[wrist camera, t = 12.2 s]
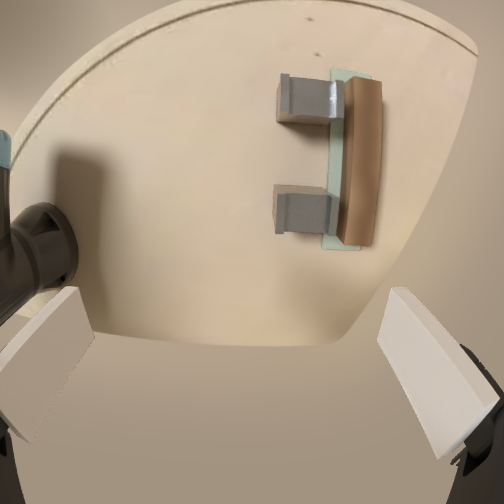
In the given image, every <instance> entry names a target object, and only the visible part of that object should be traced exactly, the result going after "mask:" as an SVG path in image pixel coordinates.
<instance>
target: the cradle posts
mask: <svg viewBox="0 0 504 504" xmlns="http://www.w3.org/2000/svg"><path fill="white" fill-rule="evenodd" d="M343 118H344V81H342V80H335V81H334V82H331V81H324V80H316V79H307V78H297V77H289V74H282V73H281V75H280V83H279V86H278V90H277V110H276V122H292V123H304V124H315V125H327V124H329V123H332V122H334V121H337V120H339V119H343ZM339 201H340V198H339V197H338V196H335V195H333V194H332V193H330V192H328V191H327V190H325V189H323V188H321V187H308V186H291V185H274V198H273V220H274V225H275V234H283V233H284V231H286V232H309V233H326V234H327V235H328V236H336V230H337V221H338V211H339Z"/></svg>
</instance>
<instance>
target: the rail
mask: <svg viewBox="0 0 504 504" xmlns="http://www.w3.org/2000/svg"><path fill="white" fill-rule="evenodd" d="M381 142H382V82H380V81H376V80H371V79H367V78H362V77H357V76H353V77H352V78H350V79H349V80H348V81H346V82H345V83H344V127H343V153H342V170H341V184H340V196H339V198H340V201H339V211H338V221H337V230H336V236H337V237H338V238H339V240H340V241H341V242H342V243H343V244H344V245H355V246H371V241H372V234H373V228H374V220H375V213H376V205H377V196H378V186H379V175H380V161H381Z"/></svg>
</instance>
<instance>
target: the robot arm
mask: <svg viewBox="0 0 504 504" xmlns="http://www.w3.org/2000/svg"><path fill="white" fill-rule="evenodd" d="M10 162H11V138H10V136H9V134H8V133H7V132H5V131H3V130H0V326H1V325H3V323H5V321H6V320H8V319H9V318H10V317H11V316H12V315H13V314H14V313H15V312H16V311H18V310H19V309H20V308H21V307H22V306H23V305H24V304H25V303H27V302H28V301H29V300H30V299H31V298H32V297H34V296H35V295H36V294H39V293H43V292H47V291H51V290H55V289H58V288H60V287H62V286H64V285H65V284H66V283H67V282H68V281H70V280H71V279H72V277H73V276H74V274H75V272H76V269H77V264H78V249H77V243H76V239H75V236H74V233H73V231H72V228H71V226H70V224H69V222H68V221H67V219H66V218H65V216H64V215H63V214H62V213H61V212H60V211H59V210H58V209H57V208H56V207H54V206H53V205H51V204H48V203H43V202H42V203H37V204H34V205H31V206H29V207H27V208H26V209H25V210H23V211H22V212H21V213H20V214H19V215H18V216H17V217H16V219H15V220H14V221H13V222H12V223H11V224H10V206H9V185H10V170H11V168H12V166H11V165H10ZM94 338H95V336H94V334H93V331H92V328H91V325H90V322H89V320H88V317H87V314H86V311H85V307H84V304H83V301H82V298H81V294H80V291H79V287H72V286H66V287H64V288H63V289H62V290H61V291H60V292H59V293H58V294H57V295H56V296H55V297H54V298H53V299H51V300H50V301H49V302H48V303H47V304H46V305H45V306H44V307H43V308H42V309H41V310H40V311H39V312H38V313H37V314H36V315H35V316H34V317H33V318H32V319H31V320H30V321H29V322H28V323H27V324H26V325H25V326H24V327H23V328H22V329H21V330H20V332H19V333H18V334H17V335H16V336H15V337H14V338H13V339H12V340H11V341H10V342H9V343H8V344H7V345H6V346H5V347H4V348H3V349H2V350H1V352H0V504H26V503H25V500H24V497H23V493H22V490H21V486H20V482H19V478H18V474H17V469H16V464H15V459H14V453H13V447H12V440H11V436H10V434H9V432H8V431H7V430H8V428H9V427H10V428H11V430H12V431H13V432H14V433H15V434H16V435H17V436H18V437H19V438H21V439H23V440H25V441H26V442H28V443H30V444H31V443H32V441H33V439H34V437H35V435H36V434H37V432H38V430H39V428H40V426H41V424H42V422H43V421H44V419H45V417H46V415H47V413H48V412H49V410H50V408H51V406H52V405H53V403H54V401H55V399H56V397H57V396H58V394H59V393H60V391H61V389H62V388H63V386H64V384H65V383H66V381H67V380H68V378H69V376H70V375H71V373H72V372H73V370H74V368H75V367H76V365H77V364H78V362H79V361H80V359H81V358H82V356H83V355H84V353H85V352H86V350H87V348H88V347H89V345H90V344H91V343H92V341H93V340H94ZM377 342H378V344H379V346H380V347H381V349H382V351H383V352H384V355H385V356H386V358H387V360H388V362H389V363H390V365H391V367H392V369H393V371H394V373H395V374H396V376H397V378H398V380H399V382H400V384H401V386H402V387H403V389H404V391H405V393H406V395H407V397H408V399H409V401H410V403H411V405H412V407H413V409H414V411H415V413H416V415H417V417H418V419H419V421H420V423H421V425H422V427H423V429H424V431H425V433H426V435H427V437H428V440H429V442H430V444H431V446H432V449H433V451H434V453H435V455H436V458H437V459H439V458H441V457H444V456H445V455H448V454H450V453H452V452H454V451H455V450H456V449H457V448H458V447H459V446H460V445H461V444H462V443H463V442H464V443H465V445H466V447H465V448H464V449H463V450H462V451H461V452H460V453H459V454H458V455H457V456H456V457H455V458H454V459H452V461H451V463H450V464H451V465H453V464H454V463H455V462H456V461H457V460H458V459H459V458H460V461H459V462H458V463H457V464H456V466H458V469H457V473H456V476H455V479H454V483H453V486H452V489H451V492H450V494H449V497H448V500H447V503H446V504H504V392H503V391H502V389H501V388H500V387H499V385H498V384H497V383H496V381H495V380H494V379H493V378H492V376H491V375H490V373H489V372H488V371H487V370H485V367H484V366H483V365H482V363H481V362H479V360H478V358H477V357H476V356H475V355H474V354H473V353H472V352H471V351H470V350H469V349H468V348H466V347H465V346H463V345H462V344H460V345H459V344H458V343H457V342H456V341H455V340H454V338H453V337H452V336H451V335H450V334H449V333H448V331H447V330H446V329H445V328H444V327H443V326H442V325H441V324H440V323H439V321H438V320H437V319H436V318H435V317H434V316H433V315H432V314H431V312H429V310H428V309H427V308H426V307H425V306H424V305H423V304H422V303H421V302H420V301H419V300H418V299H417V298H416V297H415V296H414V294H413V293H412V292H411V291H410V290H408V288H407V287H405V286H404V287H391V289H390V293H389V298H388V301H387V305H386V309H385V313H384V316H383V320H382V323H381V327H380V330H379V334H378V337H377Z"/></svg>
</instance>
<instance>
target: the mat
mask: <svg viewBox="0 0 504 504" xmlns="http://www.w3.org/2000/svg"><path fill="white" fill-rule="evenodd" d="M353 76H357V77H362V78H367V79H371V80H372V76H371V75H366V74H362V73H357V72H352V71H347V70H341V69H335V68H331V69H330V79H331V82H334V81H335V80H342V81H344V83H345V82H346V81H348V80H349V79H350V78H352V77H353ZM343 127H344V118H343V119H339V120H337V121H334V122H332V123H330V144H329V164H328V180H327V191H328V192H330V193H332V194H333V195H335V196H338V197H339V196H340V184H341V170H342V153H343ZM321 248H322V249H337V250H360V249H361V246H355V245H344V244H343V243H342V242H341V241H340V240H339V238H338V237H337V236H328V235H327V234H326V233H323V237H322V246H321Z"/></svg>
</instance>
